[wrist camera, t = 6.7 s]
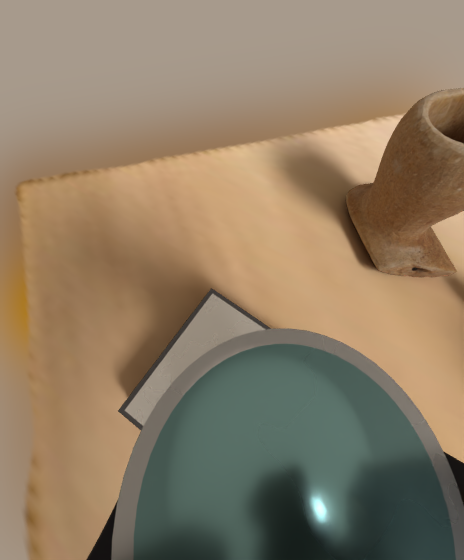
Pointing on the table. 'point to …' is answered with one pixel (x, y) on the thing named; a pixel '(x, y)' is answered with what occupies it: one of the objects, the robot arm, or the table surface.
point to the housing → (287, 462)
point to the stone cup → (415, 189)
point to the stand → (188, 351)
